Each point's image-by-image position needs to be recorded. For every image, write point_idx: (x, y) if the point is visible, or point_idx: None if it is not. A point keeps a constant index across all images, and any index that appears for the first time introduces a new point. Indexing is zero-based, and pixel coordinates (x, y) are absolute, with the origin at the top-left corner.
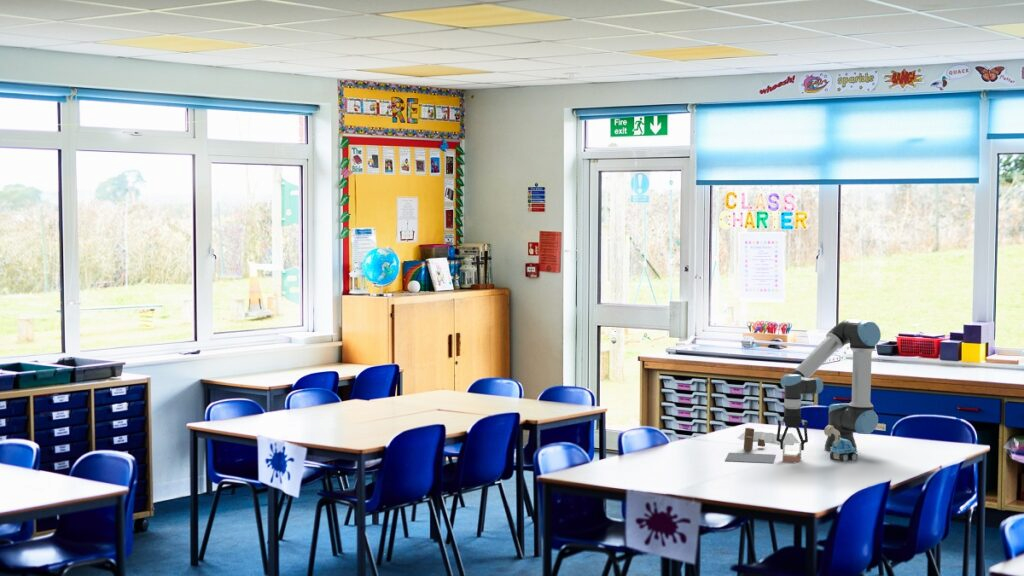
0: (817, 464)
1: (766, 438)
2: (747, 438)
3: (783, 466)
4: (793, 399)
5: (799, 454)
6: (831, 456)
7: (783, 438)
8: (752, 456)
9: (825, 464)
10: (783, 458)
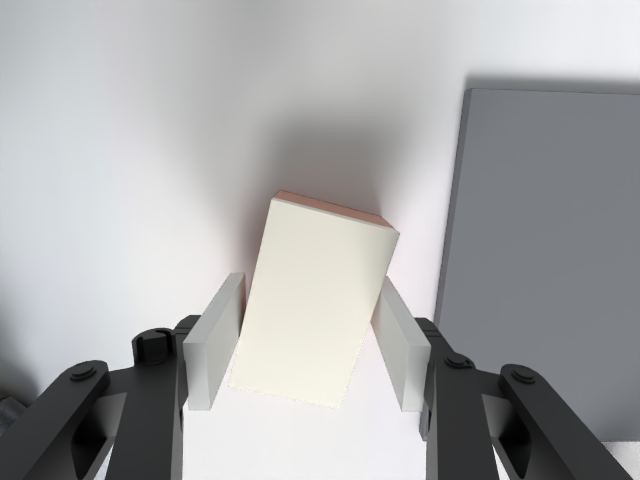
0: (101, 195)
1: None
2: None
3: (381, 16)
4: None
5: (238, 283)
6: (9, 412)
7: (448, 395)
8: (600, 339)
9: (39, 211)
10: (381, 221)
